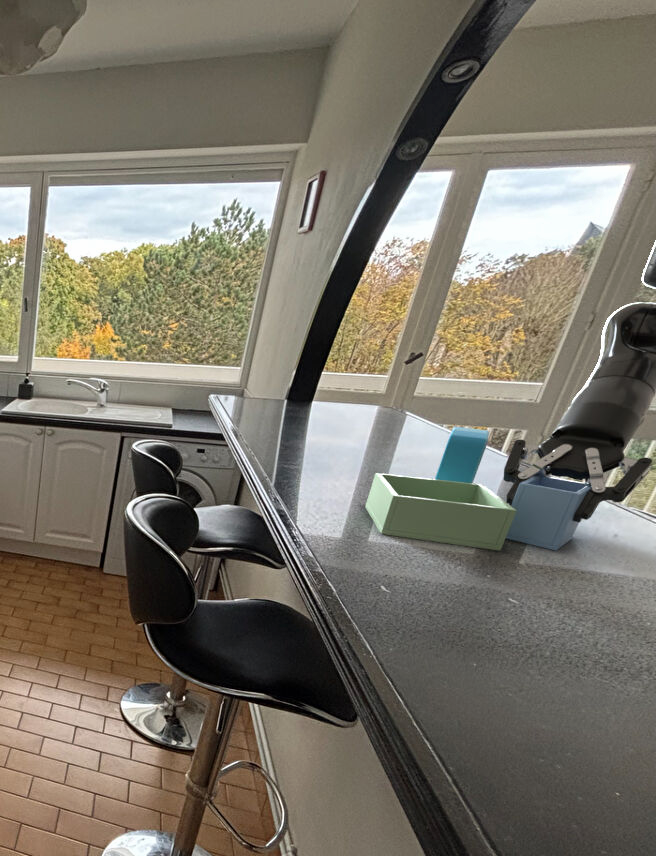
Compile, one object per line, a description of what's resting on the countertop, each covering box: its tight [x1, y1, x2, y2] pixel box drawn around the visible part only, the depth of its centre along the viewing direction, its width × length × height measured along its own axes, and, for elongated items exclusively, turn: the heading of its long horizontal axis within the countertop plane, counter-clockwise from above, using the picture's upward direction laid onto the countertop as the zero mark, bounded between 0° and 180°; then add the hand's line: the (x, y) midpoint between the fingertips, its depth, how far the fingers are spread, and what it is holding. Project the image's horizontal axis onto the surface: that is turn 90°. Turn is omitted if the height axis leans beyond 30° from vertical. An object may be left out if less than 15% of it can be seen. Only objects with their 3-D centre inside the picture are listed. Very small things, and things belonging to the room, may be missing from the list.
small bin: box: [505, 476, 591, 551], centre depth 82 cm, size 6×8×8 cm
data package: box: [434, 426, 490, 483], centre depth 95 cm, size 12×4×12 cm, turn 138°
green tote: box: [365, 472, 517, 552], centre depth 86 cm, size 13×13×6 cm
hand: (543, 511), depth 81 cm, fingers closed on small bin, 6 cm apart
